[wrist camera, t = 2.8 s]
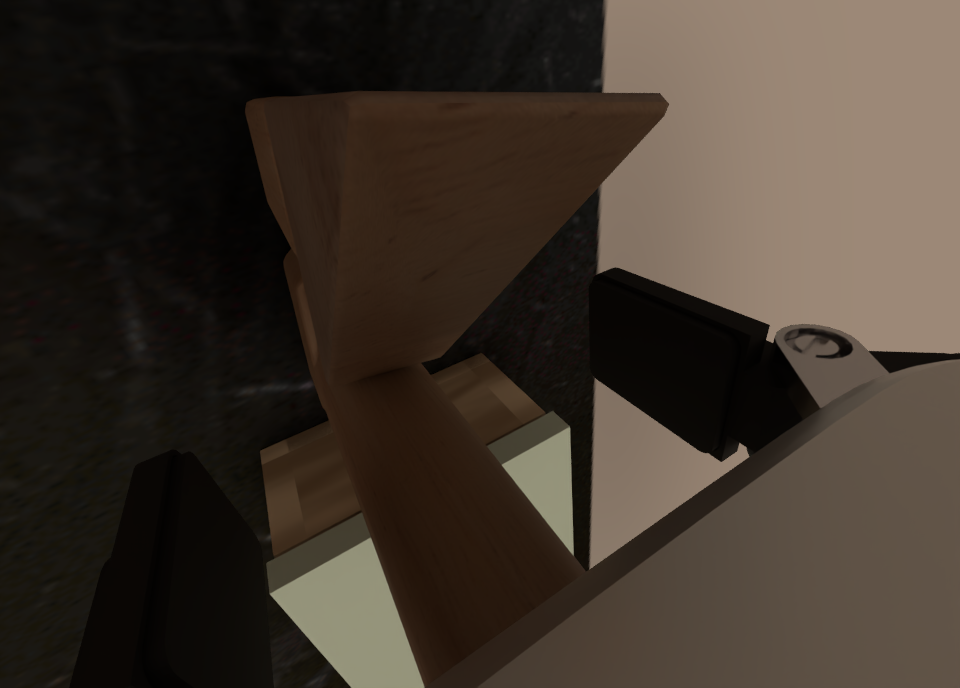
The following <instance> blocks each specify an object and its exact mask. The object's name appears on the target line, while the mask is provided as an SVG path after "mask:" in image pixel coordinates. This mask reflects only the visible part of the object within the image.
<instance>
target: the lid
mask: <svg viewBox="0 0 960 688" xmlns="http://www.w3.org/2000/svg"><path fill="white" fill-rule="evenodd" d="M487 447H488V448H489V450H490V451H491V452H492V453H493V455H494V456H495V457H496V458H497V460H498V461H499V462H500V464H501V465H502V466H503V467H504V469H505V470H506V471H507V472H508V474H509V475H510V476H511V477H512V479H513V480H514V481H515V483H516V484H517V485H518V486H519V488H520V489H521V490H522V491H523V493H524V494H525V495H526V496H527V498H528V499H529V500H530V501H531V503H532V504H533V505H534V507H535V508H536V509H537V510H538V512H539V513H540V514H541V515H542V517H543V518H544V519H545V520H546V522H547V523H548V524H549V526H550V527H551V528H552V529H553V531H554V532H555V533H556V534H557V536H558V537H559V538H560V539H561V541H562V542H563V543H564V544H565V546H566V547H567V548H568V550H569V551H570V552H571V553H572V555H573V556H574V554H573V519H572V483H571V448H570V426H568V425H567V424H566V423H565V422H564V421H563V420H562V419H561V418H560V417H559V416H557V415H556V414H555V413H554V412H553V411H552V412H550V413H548V414H546V415H544V416H542V417H541V418H539V419H537V420H535V421H533V422H531V423H529V424H527V425H526V426H524V427H522V428H520V429H518V430H516V431H514V432H512V433H510V434H509V435H507V436H505V437H503V438H501V439H499V440H497V441H495V442H494V443H492V444H490V445H488V446H487ZM266 565H267V574H268V583H269V592H270V595H271V596H272V597H273V598H274V599H275V600H276V602H277V603H278V604H279V605H280V606H281V607H282V608H283V610H284V611H285V612H286V613H287V614H288V615H289V616H290V618H291V619H292V620H293V621H294V622H295V623H296V624H297V626H298V627H299V628H300V629H301V630H302V631H303V633H304V634H305V635H306V636H307V637H308V638H309V639H310V641H311V642H312V643H313V644H314V645H315V646H316V647H317V649H318V650H319V651H320V652H321V653H322V654H323V655H324V657H325V658H326V659H327V660H328V661H329V662H330V663H331V665H332V666H333V667H334V668H335V669H336V670H337V671H338V673H339V674H340V675H341V676H342V677H343V678H344V679H345V681H346V682H347V683H348V684H349V685H350V686H351V688H424V684H423V681H422V679H421V676H420V673H419V670H418V667H417V665H416V662H415V659H414V656H413V654H412V651H411V648H410V645H409V642H408V640H407V637H406V634H405V631H404V628H403V626H402V623H401V620H400V617H399V614H398V612H397V609H396V606H395V603H394V600H393V598H392V595H391V592H390V589H389V586H388V584H387V581H386V578H385V575H384V572H383V570H382V567H381V564H380V561H379V559H378V556H377V553H376V550H375V547H374V545H373V542H372V539H371V536H370V533H369V531H368V528H367V525H366V522H365V519H364V517H363V514H362V513H360V514H358V515H356V516H354V517H352V518H351V519H349V520H347V521H345V522H343V523H341V524H339V525H337V526H335V527H334V528H332V529H330V530H328V531H326V532H324V533H322V534H320V535H319V536H317V537H315V538H313V539H311V540H309V541H307V542H305V543H303V544H302V545H300V546H298V547H296V548H294V549H292V550H290V551H288V552H287V553H285V554H283V555H281V556H279V557H277V558H275V559H273V560H272V561H270V562H268V563H266Z"/></svg>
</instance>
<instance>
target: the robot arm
mask: <svg viewBox="0 0 960 688" xmlns="http://www.w3.org/2000/svg"><path fill="white" fill-rule="evenodd" d="M769 326H770V325H768V324H766V323H763V322H760V321H758V320H755V319H752V318H750V317H747V316H744V315H742V314H739V313H737V312H734V311H731V310H729V309H726V308H723V307H721V306H718V305H715V304H712V303H710V302H707V301H705V300H702V299H699V298H697V297H694V296H691V295H689V294H686V293H684V292H681V291H678V290H676V289H673V288H670V287H667V286H665V285H662V284H660V283H657V282H654V281H652V280H649V279H646V278H644V277H641V276H638V275H636V274H633V273H631V272H628V271H625V270H622V269H620V268H612V269H609V270H607V271H604V272H602V273H600V274H597V275H596V276H595V277H594V278H593V280H592V283H591V284H590V286H589V331H590V369H591V372H592V374H593V376H594V377H595V378H596V379H597V380H598V381H600V382H602V383H603V384H604V385H606V386H607V387H609V388H610V389H611V390H613V391H614V392H616V393H617V394H619V395H620V396H621V397H623V398H624V399H626V400H627V401H629V402H630V403H631V404H633V405H634V406H636V407H637V408H639V409H640V410H641V411H643V412H644V413H646V414H647V415H649V416H650V417H651V418H653V419H654V420H656V421H657V422H659V423H660V424H662V425H663V426H664V427H666V428H667V429H669V430H670V431H672V432H673V433H674V434H676V435H677V436H679V437H680V438H682V439H683V440H684V441H686V442H687V443H689V444H690V445H692V446H693V447H694V448H696V449H697V450H699V451H701V452H703V453H709V454H710V455H712V456H713V457H715V458H716V459H718V460H719V461H721V462H722V461H724V460H725V459H727V458H728V457H729V456H731V455H732V454H734V453H735V452H737V449H738V446H739V443H741V444H742V445H744V446H746V447H747V451H748V454H749V456H750V457H749V458H747V459H746V460H745V461H743V462H742V463H740V464H739V465H737V466H736V467H735V468H734V469H732V470H730V471H729V472H728V473H726V474H725V475H723V476H722V477H720V478H719V479H717V480H716V481H715V482H713V483H712V484H710V485H709V486H707V487H706V488H704V489H703V490H702V491H700V492H699V493H698V494H696V495H695V496H693V497H692V498H690V499H689V500H688V501H686V502H685V503H683V504H682V505H680V506H679V507H678V508H676V509H675V510H673V511H672V512H670V513H669V514H668V515H666V516H665V517H663V518H662V519H660V520H659V521H658V522H657V523H655V524H654V525H652V526H651V527H649V528H648V529H646V530H645V531H643V532H642V533H641V534H639V535H638V536H637V537H635V538H634V539H632V540H631V541H629V542H628V543H627V544H625V545H624V546H622V547H621V548H620V549H618V550H617V551H615V552H614V553H613V554H611V555H610V556H608V557H607V558H605V559H604V560H603V561H601V562H600V563H598V564H597V565H595V566H594V567H593V568H591V569H590V570H588V571H587V572H586V573H584V574H583V575H581V576H580V577H578V578H577V579H576V580H574V581H573V582H571V583H570V584H569V585H567V586H566V587H564V588H563V589H562V590H560V591H559V592H557V593H556V594H555V595H553V596H552V597H550V598H549V599H548V600H546V601H545V602H543V603H542V604H541V605H539V606H538V607H536V608H535V609H534V610H532V611H531V612H529V613H528V614H527V615H525V616H524V617H522V618H521V619H520V620H518V621H517V622H515V623H514V624H513V625H511V626H510V627H508V628H507V629H506V630H504V631H503V632H501V633H500V634H499V635H497V636H496V637H494V638H493V639H492V640H490V641H489V642H487V643H486V644H485V645H483V646H482V647H480V648H479V649H478V650H476V651H475V652H473V653H472V654H471V655H469V656H468V657H466V658H465V659H464V660H462V661H461V662H459V663H458V664H457V665H455V666H454V667H452V668H451V669H450V670H448V671H447V672H445V673H444V674H443V675H441V676H440V677H438V678H437V679H436V680H434V681H433V682H431V683H430V684H429V685H427V686H426V687H424V688H960V353H958V354H957V353H955V354H946V353H917V352H914V353H913V352H882V351H880V352H879V351H868V350H867V349H866V348H865V347H864V346H863V345H862V344H861V343H860V342H859V341H857V340H856V339H855V338H853V337H852V336H851V335H848V334H846V333H844V332H842V331H840V330H836V329H833V328H830V327H825V326H819V325H810V324H799V325H790V326H788V327H784V328H782V329H781V330H779V331H778V332H777V333H776V335H775V338H774V342H773V343H771V342H769V341H767V340H766V337H767V334H768V329H769ZM69 688H274V685H273V673H272V662H271V650H270V639H269V627H268V616H267V604H266V593H265V581H264V570H263V558H262V550H261V546H260V543H259V541H258V539H257V537H256V535H255V534H254V533H253V531H252V530H251V529H250V527H249V526H248V525H247V523H246V522H245V521H244V519H243V518H242V517H241V515H240V514H239V513H238V511H237V510H236V509H235V508H234V506H233V505H232V504H231V502H230V501H229V500H228V498H227V497H226V496H225V494H224V493H223V492H222V490H221V489H220V488H219V486H218V485H217V484H216V482H215V481H214V480H213V479H212V477H211V476H210V475H209V473H208V472H207V471H206V469H205V468H204V467H203V465H202V464H201V463H200V461H199V460H198V459H197V457H196V456H195V455H194V454H193V453H191V452H186V453H184V454H180V453H179V452H178V451H176V450H170V451H168V452H165V453H163V454H161V455H158V456H156V457H153V458H151V459H148V460H146V461H144V462H141V463H139V464H137V465H136V466H135V468H134V471H133V474H132V478H131V482H130V486H129V490H128V494H127V498H126V502H125V505H124V509H123V513H122V517H121V521H120V525H119V529H118V533H117V536H116V540H115V544H114V548H113V552H112V556H111V558H110V559H109V560H108V561H107V562H106V563H105V564H104V566H103V568H102V571H101V573H100V577H99V581H98V584H97V588H96V592H95V595H94V599H93V603H92V606H91V610H90V614H89V617H88V621H87V625H86V628H85V632H84V636H83V639H82V643H81V647H80V650H79V654H78V658H77V661H76V665H75V669H74V672H73V676H72V680H71V683H70V687H69Z"/></svg>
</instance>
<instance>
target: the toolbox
mask: <svg viewBox="0 0 960 688" xmlns="http://www.w3.org/2000/svg"><path fill="white" fill-rule="evenodd" d="M431 376H432V378H433V379H434V380H435V381H436V383H437V384H438V385H439V386H440V388H441V389H442V390H443V391H444V393H445V394H446V395H447V397H448V398H449V399H450V400H451V402H452V403H453V404H454V405H455V407H456V408H457V409H458V410H459V412H460V413H461V414H462V415H463V417H464V418H465V419H466V421H467V422H468V423H469V424H470V426H471V427H472V428H473V429H474V431H475V432H476V433H477V434H478V436H479V437H480V438H481V440H482V441H483V442H484V443H485V445H486V446H488V445H490V444H492V443H494V442H495V441H497V440H499V439H501V438H503V437H505V436H507V435H509V434H510V433H512V432H514V431H516V430H518V429H520V428H522V427H524V426H526V425H527V424H529V423H531V422H533V421H535V420H537V419H539V418H541V417H542V416H544V415H545V412H544V411H543V410H542V409H541V408H540V407H539V406H538V405H537V404H536V403H535V402H533V401H532V400H531V399H530V398H529V397H528V396H527V395H526V394H525V393H524V392H523V391H522V390H521V389H520V388H519V387H517V386H516V385H515V384H514V383H513V382H512V381H511V380H510V379H509V378H508V377H507V376H506V375H505V374H504V373H503V372H501V371H500V370H499V369H498V368H497V367H496V366H495V365H494V364H493V363H492V362H491V361H490V360H489V359H488V358H486V357H485V356H484V355H483V354H482V353H480V354H477V355H475V356H473V357H471V358H468V359H466V360H464V361H462V362H459V363H457V364H455V365H453V366H450V367H448V368H446V369H443V370H441V371H439V372H437V373H434V374H432V375H431ZM260 454H261V462H262V470H263V478H264V485H265V493H266V501H267V508H268V516H269V524H270V532H271V539H272V547H273V555H274V557H275V558H277V557H279V556H281V555H283V554H285V553H287V552H288V551H290V550H292V549H294V548H296V547H298V546H300V545H302V544H303V543H305V542H307V541H309V540H311V539H313V538H315V537H317V536H319V535H320V534H322V533H324V532H326V531H328V530H330V529H332V528H334V527H335V526H337V525H339V524H341V523H343V522H345V521H347V520H349V519H351V518H352V517H354V516H356V515H358V514H360V513H362V511H361V508H360V505H359V503H358V500H357V497H356V494H355V491H354V489H353V486H352V483H351V480H350V477H349V475H348V472H347V469H346V466H345V464H344V461H343V458H342V455H341V452H340V450H339V447H338V444H337V441H336V438H335V436H334V433H333V430H332V427H331V424H330V422H329V420H328V421H326V422H324V423H322V424H319V425H317V426H315V427H313V428H310V429H308V430H306V431H304V432H301V433H299V434H297V435H294V436H292V437H290V438H288V439H285V440H283V441H281V442H279V443H276V444H274V445H272V446H270V447H267V448H265V449H263V450H261V451H260Z"/></svg>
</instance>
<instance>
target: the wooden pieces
mask: <svg viewBox="0 0 960 688" xmlns="http://www.w3.org/2000/svg"><path fill="white" fill-rule="evenodd" d="M668 106H669V103H668V102H667V101H666V100H665V99H664V98H663V97H662V95H661V94H660V93H552V92H419V91H353V92H341V93H330V94H318V95H306V96H295V97H278V96H276V97H267V98H258V99H253V100H251V101H249V102H247V103H246V108H245V114H246V118H247V122H248V126H249V130H250V134H251V138H252V142H253V146H254V150H255V154H256V158H257V162H258V166H259V170H260V174H261V178H262V182H263V186H264V190H265V194H266V198H267V202H268V204H269V206H270V208H271V210H272V212H273V214H274V216H275V218H276V220H277V222H278V223H279V225H280V227H281V229H282V231H283V233H284V235H285V237H286V239H287V241H288V243H289V244H290V246H291V249H290V251H289V252H288V253H287V255H286V256H285V259H284V261H283V262H284V270H285V274H286V278H287V282H288V286H289V290H290V294H291V298H292V302H293V306H294V310H295V314H296V318H297V322H298V326H299V330H300V334H301V338H302V342H303V346H304V350H305V354H306V358H307V362H308V366H309V370H310V373H311V376H312V379H313V382H314V385H315V388H316V390H317V393H318V396H319V399H320V402H321V405H322V407H323V408H324V409H325V410H326V413H327V416H328V419H329V422H330V424H331V427H332V430H333V433H334V436H335V438H336V441H337V444H338V447H339V450H340V452H341V455H342V458H343V461H344V464H345V466H346V469H347V472H348V475H349V477H350V480H351V483H352V486H353V489H354V491H355V494H356V497H357V500H358V503H359V505H360V508H361V511H362V514H363V517H364V519H365V522H366V525H367V528H368V531H369V533H370V536H371V539H372V542H373V545H374V547H375V550H376V553H377V556H378V559H379V561H380V564H381V567H382V570H383V572H384V575H385V578H386V581H387V584H388V586H389V589H390V592H391V595H392V598H393V600H394V603H395V606H396V609H397V612H398V614H399V617H400V620H401V623H402V626H403V628H404V631H405V634H406V637H407V640H408V642H409V645H410V648H411V651H412V654H413V656H414V659H415V662H416V665H417V667H418V670H419V673H420V676H421V679H422V681H423V684H424V687H426V686H427V685H429V684H430V683H431V682H433V681H434V680H436V679H437V678H438V677H440V676H441V675H443V674H444V673H445V672H447V671H448V670H450V669H451V668H452V667H454V666H455V665H457V664H458V663H459V662H461V661H462V660H464V659H465V658H466V657H468V656H469V655H471V654H472V653H473V652H475V651H476V650H478V649H479V648H480V647H482V646H483V645H485V644H486V643H487V642H489V641H490V640H492V639H493V638H494V637H496V636H497V635H499V634H500V633H501V632H503V631H504V630H506V629H507V628H508V627H510V626H511V625H513V624H514V623H515V622H517V621H518V620H520V619H521V618H522V617H524V616H525V615H527V614H528V613H529V612H531V611H532V610H534V609H535V608H536V607H538V606H539V605H541V604H542V603H543V602H545V601H546V600H548V599H549V598H550V597H552V596H553V595H555V594H556V593H557V592H559V591H560V590H562V589H563V588H564V587H566V586H567V585H569V584H570V583H571V582H573V581H574V580H576V579H577V578H578V577H580V576H581V575H583V574H584V573H586V571H585V570H584V569H583V567H582V566H581V565H580V563H579V562H578V561H577V560H576V558H575V557H574V556H573V555H572V553H571V552H570V551H569V550H568V548H567V547H566V546H565V544H564V543H563V542H562V541H561V539H560V538H559V537H558V536H557V534H556V533H555V532H554V531H553V529H552V528H551V527H550V526H549V524H548V523H547V522H546V520H545V519H544V518H543V517H542V515H541V514H540V513H539V512H538V510H537V509H536V508H535V507H534V505H533V504H532V503H531V501H530V500H529V499H528V498H527V496H526V495H525V494H524V493H523V491H522V490H521V489H520V488H519V486H518V485H517V484H516V483H515V481H514V480H513V479H512V477H511V476H510V475H509V474H508V472H507V471H506V470H505V469H504V467H503V466H502V465H501V464H500V462H499V461H498V460H497V458H496V457H495V456H494V455H493V453H492V452H491V451H490V450H489V448H488V447H487V446H486V445H485V443H484V442H483V441H482V440H481V438H480V437H479V436H478V434H477V433H476V432H475V431H474V429H473V428H472V427H471V426H470V424H469V423H468V422H467V421H466V419H465V418H464V417H463V415H462V414H461V413H460V412H459V410H458V409H457V408H456V407H455V405H454V404H453V403H452V402H451V400H450V399H449V398H448V397H447V395H446V394H445V393H444V391H443V390H442V389H441V388H440V386H439V385H438V384H437V383H436V381H435V380H434V379H433V378H432V376H431V375H430V374H429V373H428V371H427V370H426V369H425V367H424V366H423V365H422V364H421V363H422V362H425V361H429V360H433V359H436V358H440V357H441V356H442V355H443V354H444V353H445V352H446V351H447V350H448V349H449V348H450V347H451V346H452V345H453V343H454V342H455V341H456V340H457V339H458V338H459V337H460V336H461V335H462V334H463V333H464V332H465V331H466V329H467V328H468V327H469V326H470V325H471V324H472V323H473V322H474V321H475V320H476V319H477V318H478V316H479V315H480V314H481V313H482V312H483V311H484V310H485V309H486V308H487V307H488V306H489V305H490V303H491V302H492V301H493V300H494V299H495V298H496V297H497V296H498V295H499V294H500V293H501V292H502V291H503V289H504V288H505V287H506V286H507V285H508V284H509V283H510V282H511V281H512V280H513V279H514V278H515V276H516V275H517V274H518V273H519V272H520V271H521V270H522V269H523V268H524V267H525V266H526V265H527V264H528V262H529V261H530V260H531V259H532V258H533V257H534V256H535V255H536V254H537V253H538V252H539V251H540V249H541V248H542V247H543V246H544V245H545V244H546V243H547V242H548V241H549V240H550V239H551V238H552V236H553V235H554V234H555V233H556V232H557V231H558V230H559V229H560V228H561V227H562V226H563V225H564V224H565V222H566V221H567V220H568V219H569V218H570V217H571V216H572V215H573V214H574V213H575V212H576V211H577V209H578V208H579V207H580V206H581V205H582V204H583V203H584V202H585V201H586V200H587V199H588V198H589V197H590V195H591V194H592V193H593V192H594V191H595V190H596V189H597V188H598V187H599V186H600V185H601V184H602V182H603V181H604V180H605V179H606V178H607V177H608V176H609V175H610V174H611V173H612V172H613V171H614V169H615V168H616V167H617V166H618V165H619V164H620V163H621V162H622V161H623V160H624V159H625V158H626V157H627V155H628V154H629V153H630V152H631V151H632V150H633V149H634V148H635V147H636V146H637V145H638V144H639V142H640V141H641V140H642V139H643V138H644V137H645V136H646V135H647V134H648V133H649V132H650V131H651V129H652V128H653V127H654V126H655V125H656V124H657V123H658V122H659V121H660V120H661V119H662V118H663V117H664V115H665V113H666V110H667V108H668Z"/></svg>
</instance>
